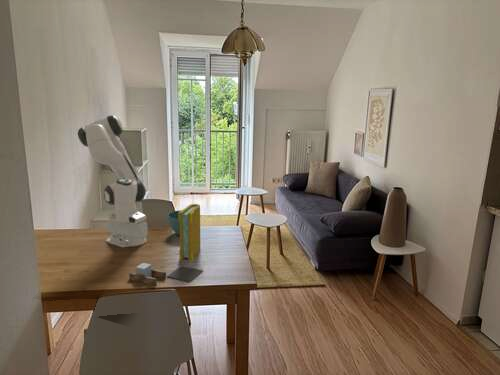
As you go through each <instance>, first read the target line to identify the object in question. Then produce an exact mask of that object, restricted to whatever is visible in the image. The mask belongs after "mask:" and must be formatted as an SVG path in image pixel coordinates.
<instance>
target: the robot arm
mask: <svg viewBox="0 0 500 375" xmlns="http://www.w3.org/2000/svg"><path fill="white" fill-rule="evenodd" d="M77 130H78V131H77V137H78V140H79V142H80V144H82V145H83V146H84V147H87V148H88V150H89V153H90V156H91V158H92V159H93V160H94V161H95V162H97V163H99V164H100V165H105V166H109V168H110V169H111V171H113V172H114V173H115V174H116V176H117V177H118V179H116V180H115V181H114V183H111V184H107V186H106V187H105V188H104V190H103V198H104V201H105V202H106V203H107V204H108V205H111V206H115V213H114V212H110V214H108V217H107V219H108V220H107V231H108V233H110V236H109V237H108V238H107V239H106V241H105V242H106V243H109V244H111V245H114V246H117V247H120V248H127V247H138V246H141V245H144V244H145V243H147V237H148V235H149V230H148V223H147V215H146V214H144V213H143V204H142V201H143V199H144V198H145V196H146V194H147V191H146V187H145V185H144V178H143V175H141V174H140V172H139V171H138V169H137V168H136V166H135V165H134V164H133V162H132V161H131V159H130V156H129V155H128V152H127V151H126V149H125V146H124V144H123V143H122V141H121V139H120V137H121V135H122V133H123V131H124V130H123V123H122V120H120V119H119V118H118V117H117V116H116V115H113V114H112V115H108V116H106V117H103V118H102V117H101V118H98V119H96V120H95V121H92V122H90V123H88V124H86V125H84V126H82V127H80V128H79V129H77Z"/></svg>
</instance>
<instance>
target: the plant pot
mask: <svg viewBox="0 0 500 375" xmlns="http://www.w3.org/2000/svg"><path fill="white" fill-rule="evenodd" d="M180 211H181V209H180V210H179V209H178V210H175V211H171V212H169V213H168V214H167V219H168V223H169V226H170V227H171V229H172V231H173V232H174V233H175V234H176V235H177V236H180V222H179V217H178V212H180Z"/></svg>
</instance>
